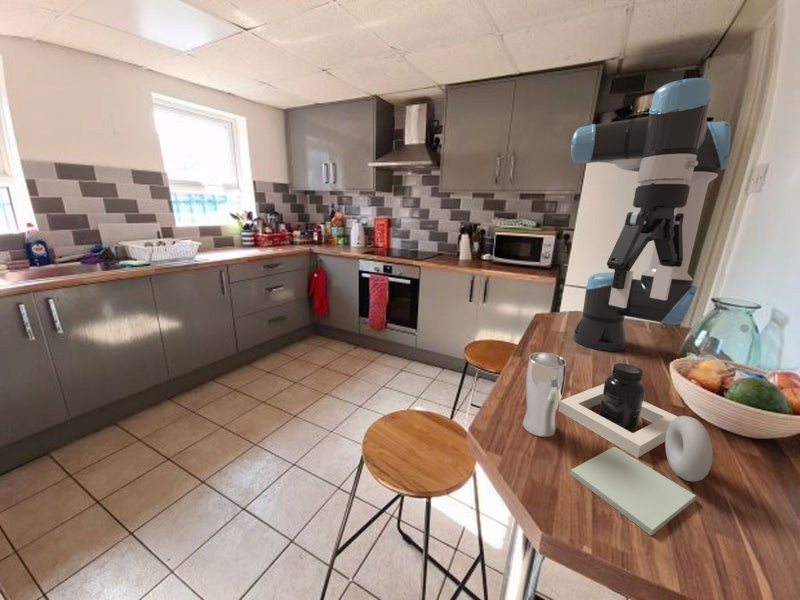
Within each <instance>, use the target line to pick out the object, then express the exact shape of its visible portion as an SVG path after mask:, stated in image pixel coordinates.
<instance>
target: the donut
mask: <svg viewBox="0 0 800 600" xmlns="http://www.w3.org/2000/svg"><path fill="white" fill-rule="evenodd" d="M664 443H665V444H664V445H665V454H666V459H667V462H668V463H669V467H670V468H671V469H672V471H673V472H674V474H675V475H677V476H678V477H680V478H681V479H683V480H684V481H687V482H698V481H702V480H703V479H704V478H705V477H706V476H708V475H709V472H710V470H711V467H712V463H713V446H712V444H713V443H712V440H711V438H710V434H709V432H708V431H707V429H706V426H704V425H703V423H701V421H699V420H698V419H696V418H694V417H691V416H687V415H680V416H678V417H677V418H675V419H673V420H672V422H671V423H670V424H669V426H668V429H667V432H666V437H665V442H664Z"/></svg>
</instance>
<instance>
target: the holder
mask: <svg viewBox="0 0 800 600" xmlns="http://www.w3.org/2000/svg"><path fill="white" fill-rule="evenodd" d="M604 384H605V383H602V384H599V385H597V386H595V387H592V388H589V389H587V390H584V391H582V392H579V393H577V394H574V395H571V396H568V397H566V398H563V399H561V400H560V402H559V405H558V409H557V411H558V412H559V413H561V414H563V415H564V416H566V417H568V418H569V419H571V420H573V421H575V422H576V423H578V424H580V425H581V426H583V427H585V428H586V429H588V430H589V431H591V432H593V433H595V434H597V435H598V436H600V437H602V438H603V439H604V440H607V442H610V443H611V444H613V445H615V447H616V446H617V448H620V450H622V451H623V450H624V451H625V453H628V454H630V455H632V457H634V458H637V459H639V458H641V456H643V455H645V454H647V453H649V452H650V451H651V450H653V449H655V448H657V447H658V446H661V444H663V443H665V437H666V432H667V429H668V426H669V424H670V423H671V422H672V420H673V419H675V418H677V417H679V416H677V415H675V414H673V413H671V412H668V411H666V410H664V409H662V408H659V407H657V406H655V405H653V404H651V403H649V402H647V401H644V400H643V403H642V408H641V412H640V417H639V418H642V420H645V421H648V422H650V424H648V425H646V426H644V427H642V428H641V429H638V430H636V431H635V432H631V431H629V430H626V429H624V428H622V427H620V426H618V425H617V424H615V423H613V422H611V421H609V420H607V419H605V418H604V417H602V416H600V415H599V413H597V412H594V411H592V410H591V408H593V407H595V406H598V405H601V400H602V395H603V390H604Z"/></svg>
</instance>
